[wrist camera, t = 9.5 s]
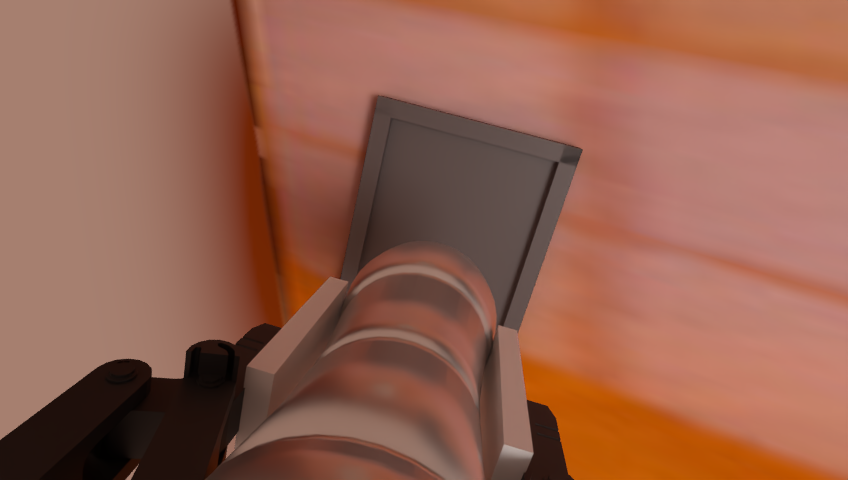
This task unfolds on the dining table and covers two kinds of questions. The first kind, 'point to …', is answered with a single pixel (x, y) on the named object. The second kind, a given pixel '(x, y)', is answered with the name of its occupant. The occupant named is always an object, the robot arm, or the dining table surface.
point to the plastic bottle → (387, 380)
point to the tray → (461, 196)
